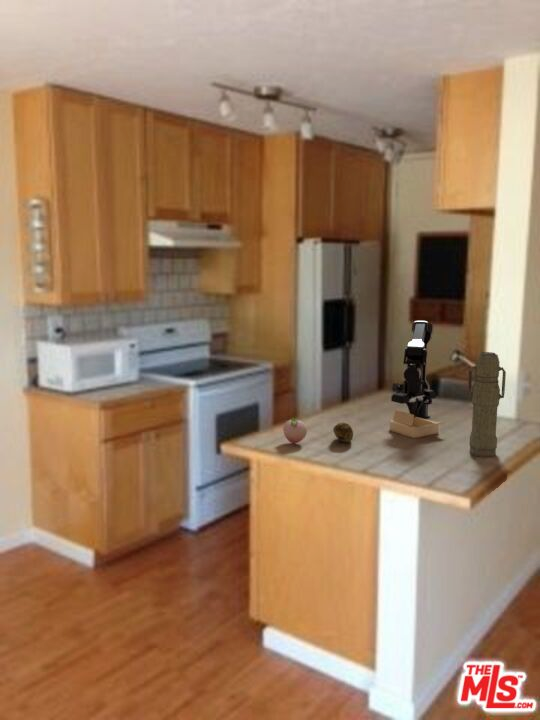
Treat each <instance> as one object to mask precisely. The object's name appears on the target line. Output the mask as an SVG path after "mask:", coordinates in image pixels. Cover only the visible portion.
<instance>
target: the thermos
mask: <svg viewBox="0 0 540 720" xmlns="http://www.w3.org/2000/svg"><path fill="white" fill-rule="evenodd" d="M473 370H475V373H474V376H475V379H474V383H473V386H472V380H473V379H472V378H473ZM501 371H502V382H501V389H500V386H499V377H500V372H501ZM506 373H507V372H506V370H505V368H504V367H501V366H500V359H499V355H498V354H496V352H491V351H490V352H488V351H482V352H480V353H478V355H477V358H476V361H475V365H474V366H471V367H470V368H469V369H468V388H467V389H468V390H467V394H468V395H469V397H471V403H472V417H471V418H472V421H471V422H472V423H471V431H470V435H469V445H468V446H469V454H470V455H472V456H474V457H478V456H479V458H493V456H494V457H496V456H497V446H498V438H497V422H498V421H497V419H498V408H499V405H500V400H501V399H504V398H505V394H506V393H505V391H506V376H507V375H506ZM500 390H501V391H500ZM500 392H501V393H500Z"/></svg>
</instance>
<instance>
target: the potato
mask: <svg viewBox="0 0 540 720" xmlns="http://www.w3.org/2000/svg"><path fill="white" fill-rule="evenodd" d="M332 429H333V430H332V431H333V433H334V436H335V438H336V439H337V440H338V441H340V442H343V443H350V442H351V441H352V440H353V437H354V431H353V428H352V426H351V425H350V424H349V423H347V422H346V423H345V422H339V423H337V424H336V425H334V426H333V428H332Z"/></svg>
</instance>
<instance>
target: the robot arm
mask: <svg viewBox="0 0 540 720" xmlns="http://www.w3.org/2000/svg"><path fill="white" fill-rule="evenodd" d="M434 327H435V326H434V324H433V323H432V322H431V323H430V322H429V321H426V320H415V321H414V322H412V323H411V334H412V340H411V341H409V342H408V343H407V346H406V347H405V349H404V354H403V355H404V357H403V362H402V363H403V365H407V366H406V369H405V370H404V373H403V378H404V380H403V383H402V384H400V383H399V382H395V383H392V386H391V388H392V389H391V390H392V392H394V393H393V394H392V395H391V398H390V400H391V402H393V403H397V404H402V405H403V404H406V406H407V408H408V411H409V412H408V413H409V414H412V415H414V418H415V417H419V418H423V419H429V418H431V415H429V411H428V410H429V406H430V405H432V404H433V399H436V397H437V393H436V391H435V390H432V389H430V384H429V382H428V381H427V361H428V345H429V343H430V341H431V339H432V335H434V332H435V331H434V330H435V329H434Z"/></svg>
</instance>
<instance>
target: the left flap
mask: <svg viewBox="0 0 540 720" xmlns="http://www.w3.org/2000/svg"><path fill="white" fill-rule="evenodd" d="M444 423H445V421H439V422H437V423H433V424H428V425H423V426H418V427H426V426H431V425H436V424H439V425H441V424H444Z"/></svg>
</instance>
